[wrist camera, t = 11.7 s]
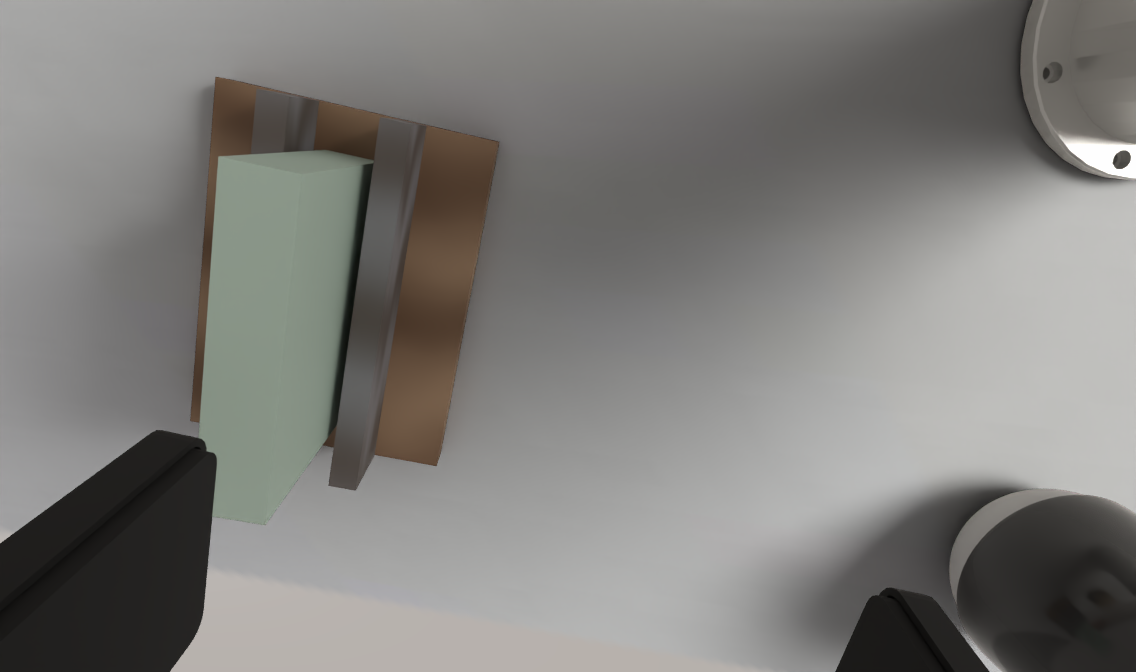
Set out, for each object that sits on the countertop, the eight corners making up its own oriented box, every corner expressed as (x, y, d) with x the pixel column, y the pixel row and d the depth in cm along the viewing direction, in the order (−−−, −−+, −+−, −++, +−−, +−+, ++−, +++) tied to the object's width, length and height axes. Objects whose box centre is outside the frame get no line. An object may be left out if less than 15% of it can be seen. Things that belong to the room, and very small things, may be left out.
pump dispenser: (1007, 424, 36) (1327, 622, 21) (1134, 519, 38) (1506, 760, 23) (878, 561, 38) (1089, 827, 23) (1004, 644, 40) (1271, 936, 25)
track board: (231, 79, 29) (171, 68, 25) (499, 141, 31) (491, 143, 26) (205, 408, 34) (149, 453, 29) (440, 452, 35) (424, 502, 30)
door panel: (325, 149, 29) (218, 156, 19) (381, 161, 29) (302, 174, 20) (297, 401, 32) (193, 513, 23) (347, 410, 33) (265, 525, 23)
